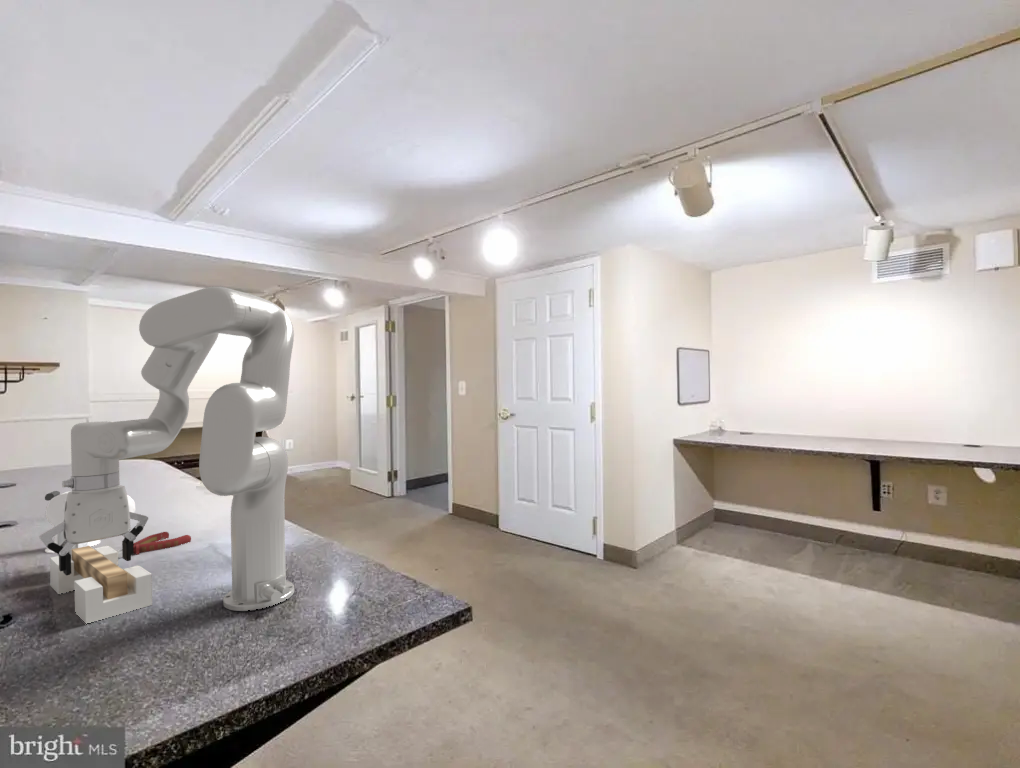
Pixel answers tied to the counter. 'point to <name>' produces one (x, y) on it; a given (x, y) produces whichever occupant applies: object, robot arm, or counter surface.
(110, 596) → the slat
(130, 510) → the light bulb
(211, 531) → the counter surface
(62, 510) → the panda figurine
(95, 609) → the end caps
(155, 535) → the pliers
